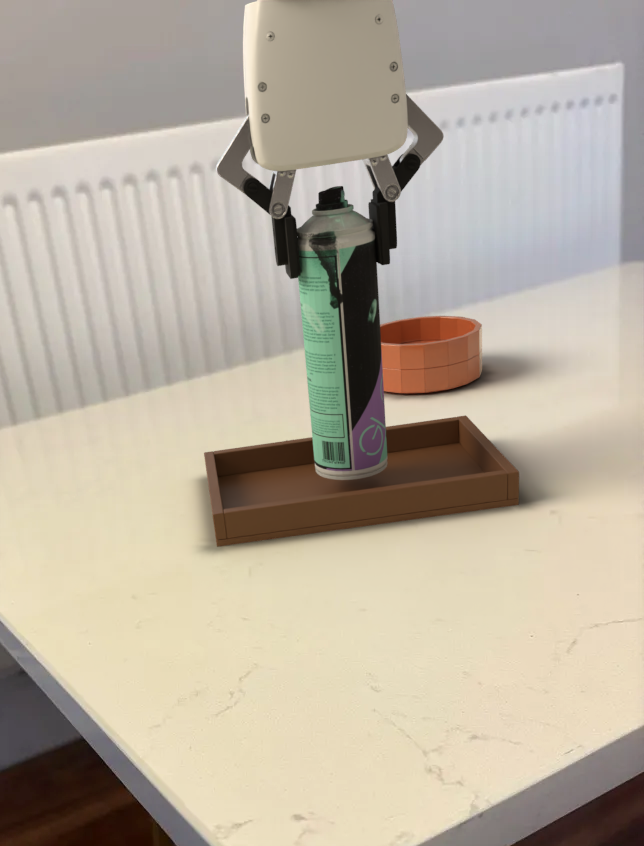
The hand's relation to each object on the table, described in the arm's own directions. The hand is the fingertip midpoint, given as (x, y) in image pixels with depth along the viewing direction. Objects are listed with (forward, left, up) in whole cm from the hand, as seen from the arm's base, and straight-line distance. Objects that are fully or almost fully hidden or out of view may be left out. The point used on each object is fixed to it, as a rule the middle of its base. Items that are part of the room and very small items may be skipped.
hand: (336, 265), depth 71 cm
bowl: (-12, -27, -17) cm, 34 cm away
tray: (0, 0, -17) cm, 17 cm away
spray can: (0, 0, -15) cm, 15 cm away
